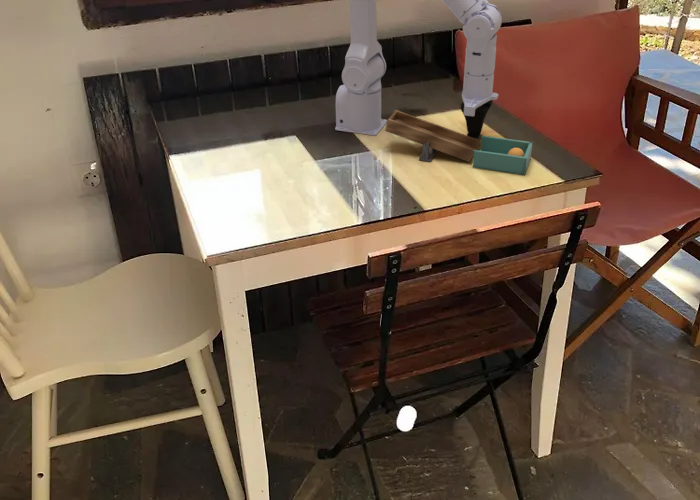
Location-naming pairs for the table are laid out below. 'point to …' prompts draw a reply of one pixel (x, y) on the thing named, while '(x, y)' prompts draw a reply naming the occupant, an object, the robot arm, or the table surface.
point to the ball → (516, 152)
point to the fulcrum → (427, 153)
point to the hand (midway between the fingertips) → (474, 135)
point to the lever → (432, 135)
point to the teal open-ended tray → (502, 155)
